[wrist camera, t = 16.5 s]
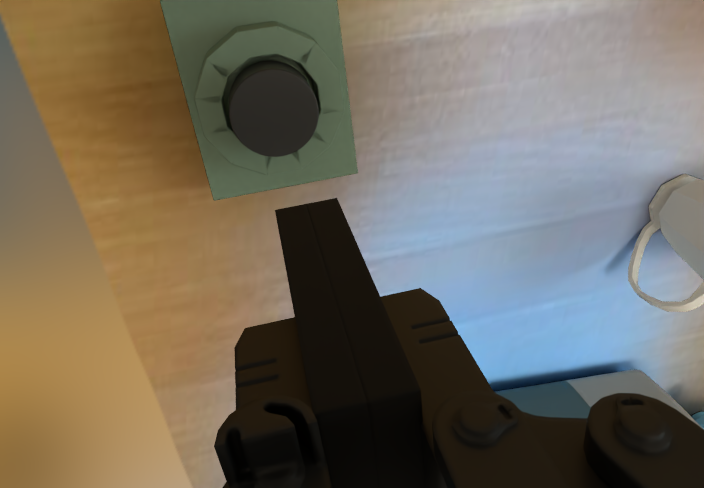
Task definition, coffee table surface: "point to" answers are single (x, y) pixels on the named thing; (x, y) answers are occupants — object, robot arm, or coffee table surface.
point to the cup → (675, 235)
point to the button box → (249, 48)
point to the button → (272, 109)
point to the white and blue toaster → (585, 394)
